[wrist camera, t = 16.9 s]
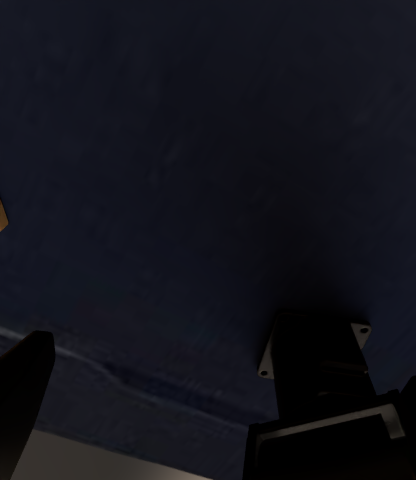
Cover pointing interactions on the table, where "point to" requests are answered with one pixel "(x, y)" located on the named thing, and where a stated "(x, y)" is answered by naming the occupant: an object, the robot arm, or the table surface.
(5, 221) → the oak board
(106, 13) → the table surface
